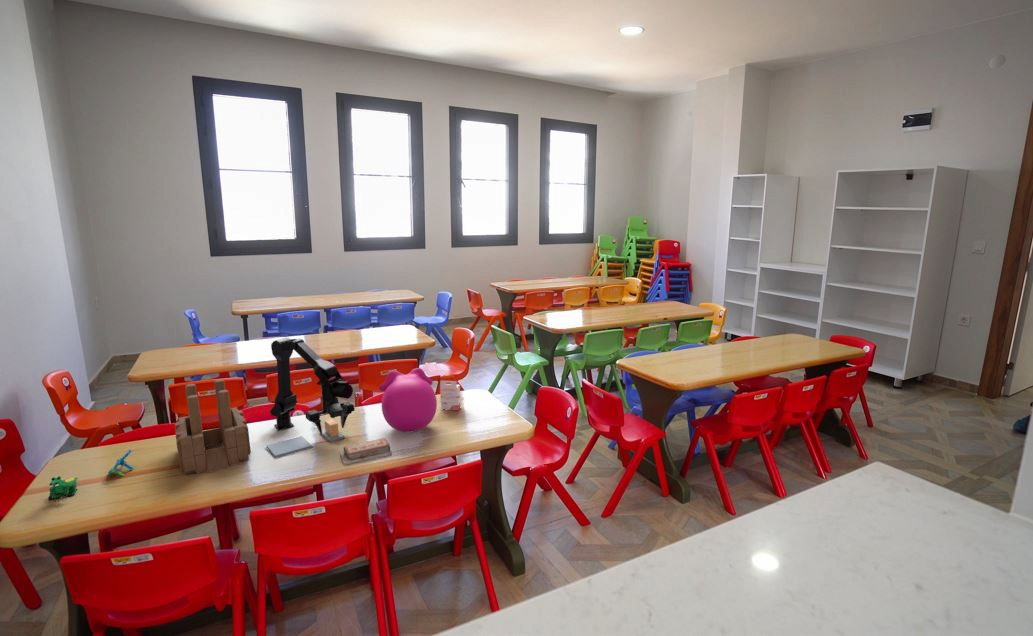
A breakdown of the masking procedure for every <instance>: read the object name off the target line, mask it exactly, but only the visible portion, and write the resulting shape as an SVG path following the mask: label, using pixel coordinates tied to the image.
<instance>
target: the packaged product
mask: <svg viewBox="0 0 1033 636" xmlns="http://www.w3.org/2000/svg"><path fill="white" fill-rule="evenodd" d="M339 455H340V458H341V461H342V463H343V465H344V466H346V465H350V464H354V462H355V463H360V462H359V461H361V462H365V461H370V460H375V459H378V458H382V457H387V456H388V457H389V456H391V455H393V453H392V451H391V445H390V442H388V439H387V438H386V437H385V438H378V439H374V440H373V439H372V440H369V441H364V442H358V443H353V444H349V445H345V446H343V451H339ZM364 460H365V461H364Z"/></svg>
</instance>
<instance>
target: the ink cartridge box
mask: <svg viewBox="0 0 1033 636" xmlns="http://www.w3.org/2000/svg"><path fill="white" fill-rule="evenodd" d="M439 385H440V386H439V389H440V390H439V391H440V410H441V409H447V410H458V411H459V410H460V409H461V408H460V407H461V405H462V404H461V385H460V384H458V381H456V380H440V384H439ZM447 410H446V411H447Z"/></svg>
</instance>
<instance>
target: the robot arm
mask: <svg viewBox="0 0 1033 636" xmlns="http://www.w3.org/2000/svg"><path fill="white" fill-rule="evenodd" d="M270 344H271V345H270V349H271V353H272V356H273V357H274V358H275V360H276V369H277V370H276V371H277V387H278V388H277V390H278V392H277V394H276V396H275V398H274V405H273V406H272V408H271V409H270V410H269V413H270V415H271V417H272V416H273V417H275V420H276V424H274V427H275V428H276V429H277V430H278V431H280V430H284V429H289V428H292V427H294V426H295V425H294V423H292V419H291V412H293V411H295V408H296V405H297V403H298V401H297V400H298V399H297V397H298V396H297V394H296V393H294V392H293V391H292V384H291V382H292V381H291V367H290V366H291V362H290V359H291V356H292V355H293V353H294V352H296V354H298V356H299V357H301V358H302V359H303V360H304V361H305V362H306V363H307V364H308V365H309V366H311V368H312V369H313V373H314V375H315V376H316V377H317V379H318V381H317V382H316V385H318V386H320V390H321V391H320V392H321V396H320V399H321V403H322V404H321V405H322V406H321V409H322V410H320V411H318V410H316V409H312V410H308V411H306V412H305V419H306V420H308V422H312V423H314V424H315V426H316V429H317V430H318V432H319V434H320V435H322V430H323V429H322V424H321V421H322V420H321V416H325V415H329V416H330V419H335V418H338V417H340V425H341V428H342V429H344V427H345V425H346V423H347V422H346V421H347V419H348V416H349V415H350V414H352V412H355V409H356V408H355V405H354V404H353V403H351V402H350V401H345V402H341V403H340V401H339V398H340V399H347V400H348V399H350V398H351V397H352V396H353V393H354V388H353V386H352V385H351V384H350V383H349V381H344V377H342V374H341V373H340V372H339V370H338V368H337V366H336V365H335V364H333V363H332V362H330V361H328V360H325V359H322V357H321V356H319V354H317V353H316V352H315V351H314V350H313V349H312V348H311V347H310V346H309V345H308V344H306V342H305V341H304V339H303V338H292V339H291V338H289V337H284V338H280V339H277V340H273V341H272V343H270Z"/></svg>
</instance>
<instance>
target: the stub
mask: <svg viewBox="0 0 1033 636" xmlns="http://www.w3.org/2000/svg"><path fill="white" fill-rule="evenodd" d="M321 435H322V436H323V437H324V438H325V439H326V440H327V441H329V442H330V443H333V442H337V441H340V440H343V438H344V439H345V438H346V436H345V435H344V434H343V433H341V432H340V430H339V423H337V422H336V421H335V420H334V419H333V418H329V419H326V420H324V429H322V434H321Z"/></svg>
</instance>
